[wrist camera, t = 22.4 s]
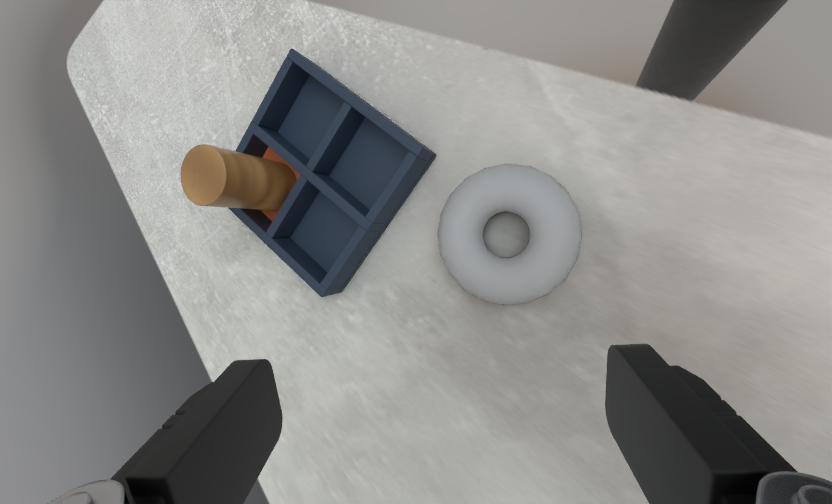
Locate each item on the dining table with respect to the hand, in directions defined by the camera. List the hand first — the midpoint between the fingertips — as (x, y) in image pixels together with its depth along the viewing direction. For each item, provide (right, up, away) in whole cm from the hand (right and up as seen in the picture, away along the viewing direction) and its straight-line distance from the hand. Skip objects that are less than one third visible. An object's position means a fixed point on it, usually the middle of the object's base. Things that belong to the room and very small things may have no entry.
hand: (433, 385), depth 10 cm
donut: (+7, +4, +21) cm, 22 cm away
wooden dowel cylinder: (-13, +9, +27) cm, 31 cm away
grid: (-8, +10, +26) cm, 29 cm away
